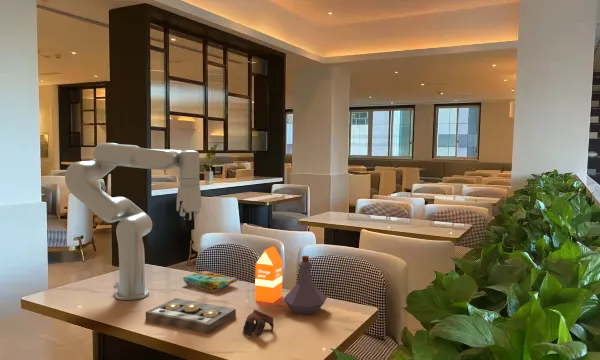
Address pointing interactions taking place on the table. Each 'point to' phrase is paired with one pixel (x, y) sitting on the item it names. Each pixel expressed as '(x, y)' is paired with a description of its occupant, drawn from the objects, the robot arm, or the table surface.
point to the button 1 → (172, 306)
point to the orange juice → (268, 276)
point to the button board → (191, 316)
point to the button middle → (191, 308)
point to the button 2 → (210, 313)
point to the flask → (305, 292)
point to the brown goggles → (257, 323)
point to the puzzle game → (209, 280)
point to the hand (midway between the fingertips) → (189, 229)
